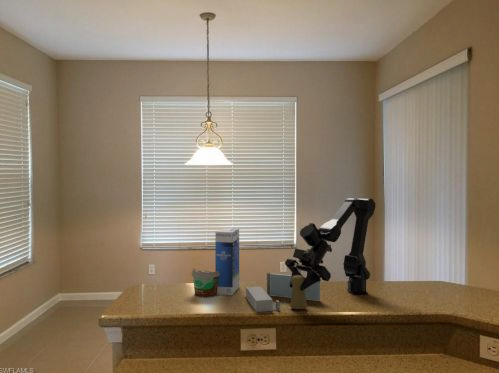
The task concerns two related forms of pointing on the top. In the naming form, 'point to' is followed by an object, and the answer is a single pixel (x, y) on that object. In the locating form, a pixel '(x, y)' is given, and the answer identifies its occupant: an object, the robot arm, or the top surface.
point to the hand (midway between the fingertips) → (295, 288)
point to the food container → (205, 283)
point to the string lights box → (227, 260)
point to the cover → (282, 288)
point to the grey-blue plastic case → (261, 298)
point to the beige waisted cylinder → (298, 293)
